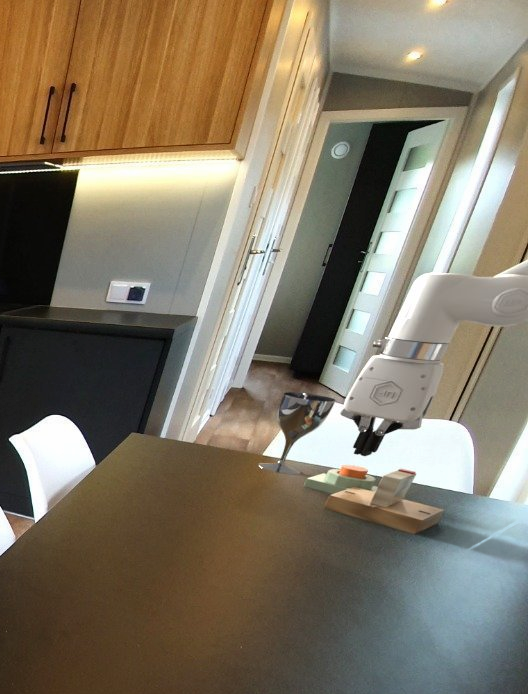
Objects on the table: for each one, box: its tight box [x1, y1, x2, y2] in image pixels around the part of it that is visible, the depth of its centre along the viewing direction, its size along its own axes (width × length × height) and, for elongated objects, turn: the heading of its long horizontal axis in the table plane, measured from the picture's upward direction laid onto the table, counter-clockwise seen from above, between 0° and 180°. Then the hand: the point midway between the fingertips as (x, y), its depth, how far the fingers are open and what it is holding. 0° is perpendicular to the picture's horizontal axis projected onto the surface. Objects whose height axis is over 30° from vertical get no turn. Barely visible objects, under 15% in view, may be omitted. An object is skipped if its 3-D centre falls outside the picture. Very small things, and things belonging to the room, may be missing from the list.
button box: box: [303, 468, 378, 495], centre depth 118 cm, size 10×7×4 cm
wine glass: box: [257, 391, 337, 475], centre depth 128 cm, size 8×8×15 cm
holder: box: [370, 468, 417, 507], centre depth 107 cm, size 7×2×5 cm, turn 120°
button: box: [339, 464, 369, 479], centre depth 118 cm, size 4×4×2 cm
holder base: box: [323, 487, 445, 535], centre depth 108 cm, size 12×11×3 cm
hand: (362, 454), depth 116 cm, fingers closed
